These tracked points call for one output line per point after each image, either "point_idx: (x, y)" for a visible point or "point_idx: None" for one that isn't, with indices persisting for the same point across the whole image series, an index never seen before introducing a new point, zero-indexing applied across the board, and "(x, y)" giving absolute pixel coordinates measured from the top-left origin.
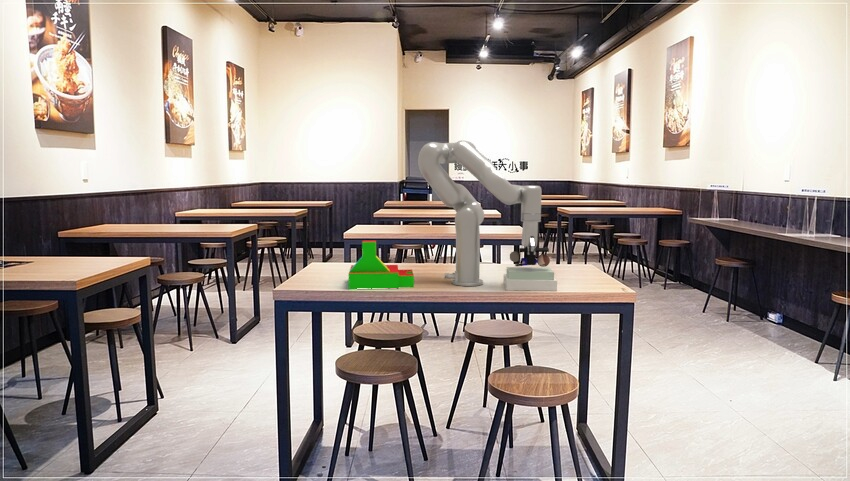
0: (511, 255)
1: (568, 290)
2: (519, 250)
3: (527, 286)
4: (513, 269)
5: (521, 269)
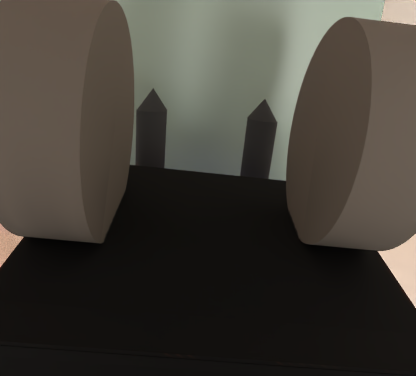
0: (2, 42)
1: None
2: (11, 351)
3: None
4: (178, 64)
5: (187, 164)
